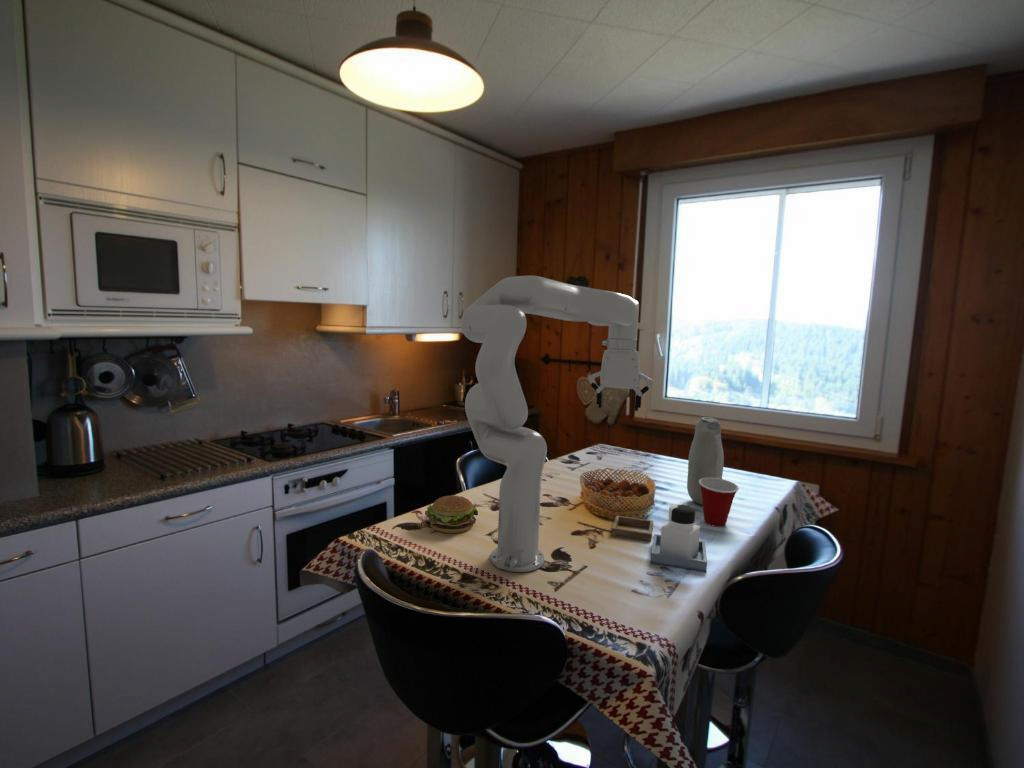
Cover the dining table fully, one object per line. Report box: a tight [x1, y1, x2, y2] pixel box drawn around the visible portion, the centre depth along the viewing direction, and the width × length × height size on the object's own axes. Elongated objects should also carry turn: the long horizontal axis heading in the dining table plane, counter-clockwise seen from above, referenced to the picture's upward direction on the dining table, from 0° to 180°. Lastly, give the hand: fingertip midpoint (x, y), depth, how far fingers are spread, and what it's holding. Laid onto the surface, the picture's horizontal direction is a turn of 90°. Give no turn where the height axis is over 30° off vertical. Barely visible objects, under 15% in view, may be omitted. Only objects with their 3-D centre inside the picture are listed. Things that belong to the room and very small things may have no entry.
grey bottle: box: [686, 416, 725, 506], centre depth 168 cm, size 10×10×28 cm
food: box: [424, 494, 479, 534], centre depth 142 cm, size 14×14×8 cm
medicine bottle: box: [660, 503, 701, 558], centre depth 128 cm, size 7×7×12 cm
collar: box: [611, 515, 654, 542], centre depth 144 cm, size 10×10×2 cm
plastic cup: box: [699, 478, 740, 527], centre depth 151 cm, size 11×11×12 cm
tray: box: [650, 533, 708, 573], centre depth 128 cm, size 12×12×2 cm
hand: (618, 408), depth 143 cm, fingers open, 9 cm apart
